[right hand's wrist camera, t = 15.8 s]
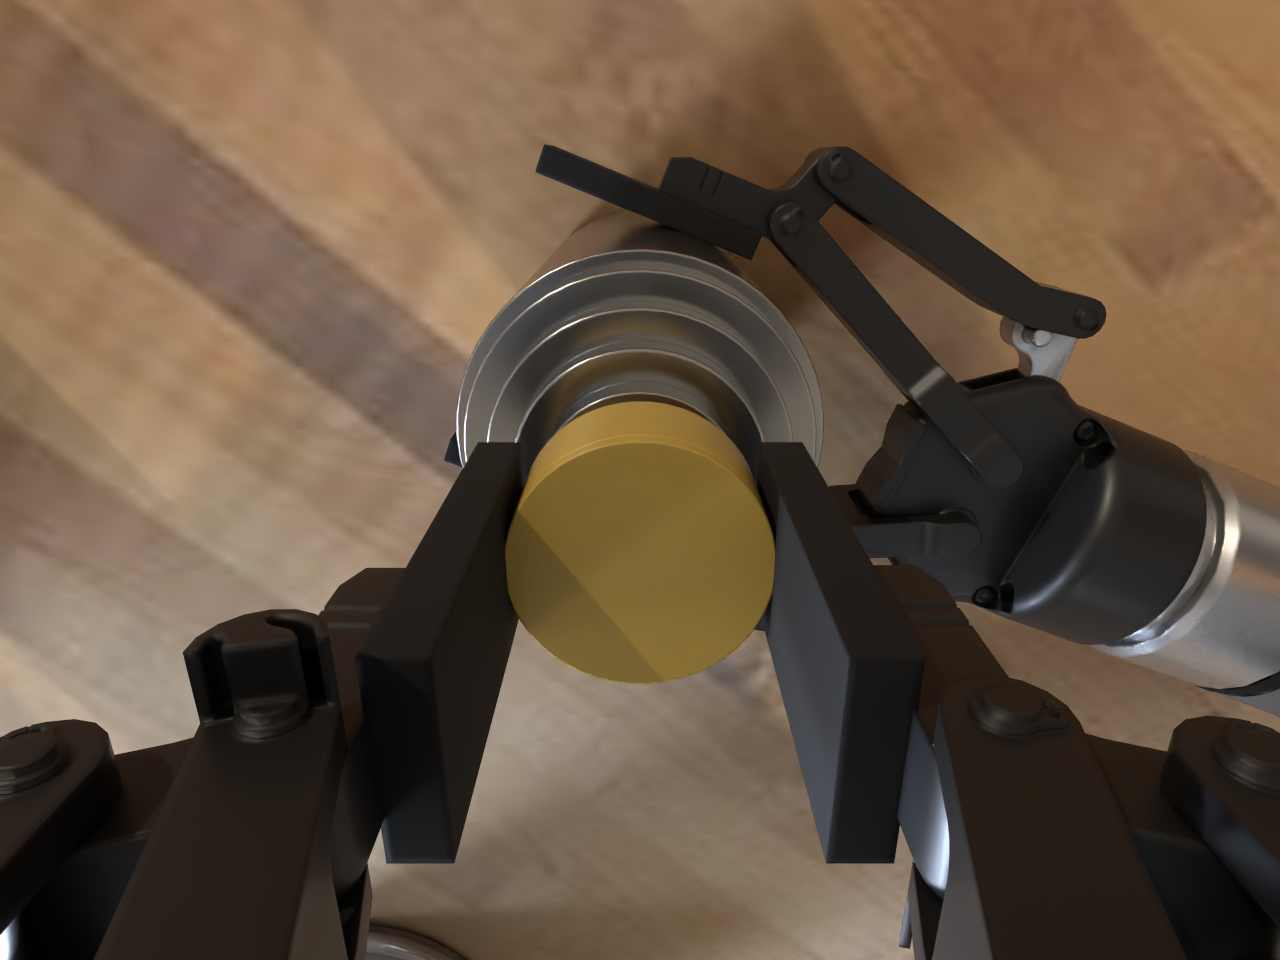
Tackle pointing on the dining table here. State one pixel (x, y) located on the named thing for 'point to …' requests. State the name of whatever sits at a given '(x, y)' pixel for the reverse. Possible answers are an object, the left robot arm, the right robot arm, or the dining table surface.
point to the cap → (640, 545)
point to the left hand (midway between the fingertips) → (498, 306)
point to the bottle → (639, 345)
